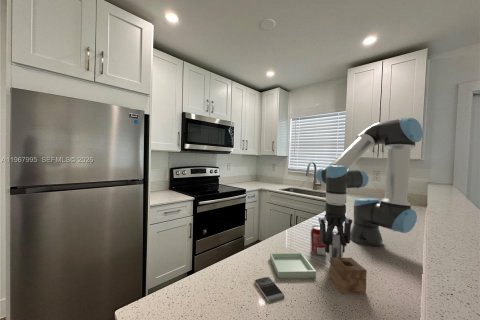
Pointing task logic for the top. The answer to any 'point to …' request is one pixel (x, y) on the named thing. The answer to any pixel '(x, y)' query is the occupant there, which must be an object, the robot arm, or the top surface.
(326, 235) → the robot arm
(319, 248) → the soda can
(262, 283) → the cell phone
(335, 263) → the walnut block
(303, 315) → the top surface
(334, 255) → the cylinder
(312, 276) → the tray
